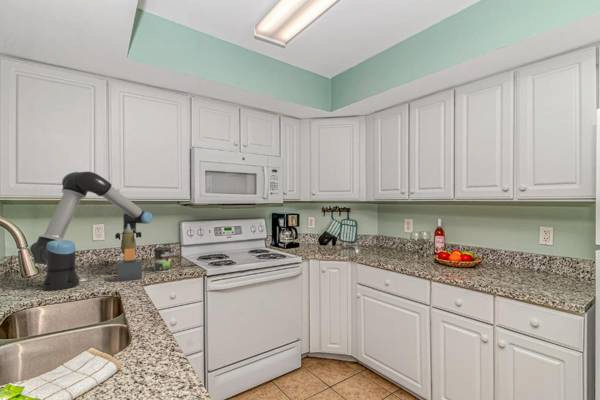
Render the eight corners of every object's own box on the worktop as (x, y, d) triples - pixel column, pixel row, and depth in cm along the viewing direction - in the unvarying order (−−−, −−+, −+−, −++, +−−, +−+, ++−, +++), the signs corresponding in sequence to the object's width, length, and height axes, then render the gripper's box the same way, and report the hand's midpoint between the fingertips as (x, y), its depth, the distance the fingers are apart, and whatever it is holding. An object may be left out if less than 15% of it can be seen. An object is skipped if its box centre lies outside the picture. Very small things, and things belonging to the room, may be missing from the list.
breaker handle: (123, 262, 167) (123, 249, 167) (123, 261, 170) (123, 249, 170) (135, 261, 170) (135, 249, 170) (135, 260, 173) (135, 248, 173)
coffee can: (174, 270, 193) (174, 248, 193) (159, 273, 185) (159, 250, 185) (166, 268, 199) (166, 246, 199) (150, 271, 191) (150, 248, 191)
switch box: (117, 281, 165) (117, 263, 165) (118, 278, 172) (117, 260, 172) (141, 279, 171) (141, 261, 171) (141, 276, 178) (141, 258, 178)
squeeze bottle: (133, 254, 179) (132, 224, 179) (118, 255, 178) (118, 224, 178) (138, 252, 187) (138, 223, 187) (124, 252, 186) (124, 223, 186)
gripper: (145, 238, 203) (146, 242, 183) (111, 240, 194) (108, 244, 174) (145, 227, 203) (146, 229, 183) (111, 228, 194) (108, 231, 174)
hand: (128, 237), depth 178 cm, fingers closed on squeeze bottle, 6 cm apart
